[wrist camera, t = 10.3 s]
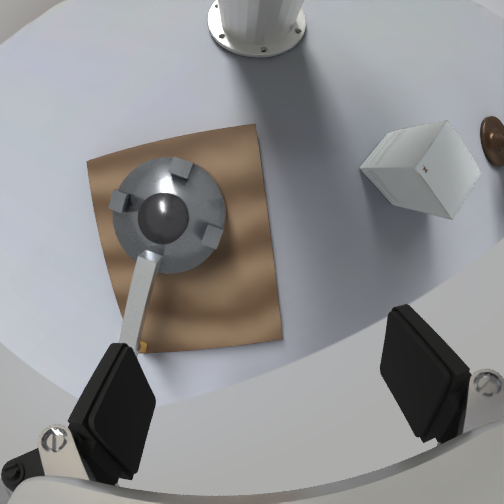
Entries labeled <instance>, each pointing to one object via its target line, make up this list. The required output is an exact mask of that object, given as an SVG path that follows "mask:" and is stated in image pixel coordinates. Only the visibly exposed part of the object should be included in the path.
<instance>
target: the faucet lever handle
mask: <svg viewBox="0 0 504 504" xmlns="http://www.w3.org/2000/svg"><path fill="white" fill-rule="evenodd" d="M108 208H109V209H111V210H113V212H112V214H113V226H114V230H115V234H116V236H117V239H118V241H119V243H120V245H121V246H122V248H123V249H124V251H125V252H126V253H127V255H128V256H129V257H130V258H131V259H132V260H134V261H135V262H136V265H135V269H134V273H133V278H132V282H131V286H130V290H129V295H128V299H127V304H126V309H125V314H124V319H123V324H122V329H121V335H120V340H119V343H126V344H128V346H129V347H132V348H133V350H134V353H135V355H136V357H137V356H138V354H139V352H140V350H141V344H140V340H141V335H142V331H143V327H144V323H145V319H146V315H147V311H148V307H149V303H150V299H151V296H152V292H153V288H154V285H155V281H156V277H157V274H158V273H164V274H175V273H181V272H185V271H188V270H191V269H193V268H195V267H196V266H198V265H200V264H201V263H202V262H204V261H205V260H206V259H207V258H208V257H209V256H210V255H211V253H212V252H213V251H214V249H217V247H218V244H219V241H220V239H221V236H222V233H223V231H224V225H225V221H226V202H225V198H224V194H223V192H222V189H221V187H220V185H219V183H218V182H217V181H216V179H215V178H214V177H213V176H212V175H211V174H210V173H209V172H208V171H207V170H206V169H204V168H203V167H201V166H199V165H198V164H195V163H193V162H190V161H187V160H183V159H181V158H178V157H173V158H172V157H162V158H156V159H153V160H149V161H147V162H145V163H143V164H141V165H139V166H138V167H136V168H135V169H134V170H132V171H131V172H130V173H129V174H128V175H127V176H126V178H125V179H124V180H123V182H122V183H121V185H120V187H119V189H115V190H113V193H112V196H111V200H110V204H109V207H108Z"/></svg>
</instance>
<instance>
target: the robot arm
mask: <svg viewBox="0 0 504 504" xmlns="http://www.w3.org/2000/svg"><path fill="white" fill-rule="evenodd" d="M303 2H304V0H216V1H215V2H214V3H213V5H212V6H211V8H210V10H209V13H208V28H209V31H210V33H211V35H212V37H213V38H214V39H215V41H216V42H217V43H218V44H219V45H221V46H222V47H223V48H225V49H227V50H228V51H230V52H233V53H235V54H238V55H242V56H246V57H255V58H261V57H271V56H276V55H279V54H282V53H285V52H286V51H288V50H290V49H292V48H293V47H294V46H295V45H296V44H298V42H299V41H300V40H301V38H302V36H303V34H304V32H305V28H306V17H305V14H304V12H303V10H302V8H301V7H302V4H303ZM297 33H298V34H297ZM221 38H224V39H221ZM262 51H265V52H262ZM469 370H470V369H469V367H468V366H467V365H466V364H465V363H464V362H463V361H462V360H461V359H460V357H459V356H458V355H457V354H456V353H455V352H454V351H453V350H452V349H451V348H450V347H449V346H448V345H447V344H446V342H445V341H444V340H443V339H442V338H441V337H440V336H439V335H438V334H437V333H436V332H435V331H434V330H433V329H432V328H431V327H430V326H429V325H428V324H427V323H426V322H425V321H424V320H423V319H422V318H421V317H420V316H419V315H418V314H417V313H416V312H415V311H414V310H413V309H412V308H411V307H410V306H409V305H408V304H405V305H401V306H397V307H394V308H393V309H392V311H391V312H390V313H389V314H388V319H387V327H386V334H385V340H384V347H383V353H382V358H381V364H380V372H381V375H382V377H383V379H384V380H385V382H386V384H387V386H388V387H389V389H390V391H391V393H392V394H393V396H394V398H395V400H396V402H397V403H398V405H399V407H400V408H401V410H402V412H403V414H404V416H405V418H406V420H407V421H408V423H409V425H410V427H411V429H412V431H413V433H414V434H415V436H416V437H420V438H421V440H422V442H423V443H424V442H427V441H429V440H431V439H433V438H436V440H437V442H438V444H437V447H435V448H432V449H430V450H428V451H426V452H423V453H421V454H419V455H417V456H414V457H411V458H409V459H406V460H404V461H401V462H399V463H396V464H393V465H391V466H388V467H385V468H383V469H380V470H376V471H373V472H370V473H367V474H364V475H360V476H357V477H353V478H349V479H346V480H342V481H338V482H333V483H329V484H324V485H320V486H315V487H310V488H304V489H299V490H292V491H284V492H276V493H267V494H257V495H256V494H255V495H239V496H194V495H177V494H166V493H157V492H150V491H143V490H135V489H129V488H123V487H120V486H119V485H118V479H119V478H123V479H128V480H132V479H133V475H134V474H135V473H137V472H138V468H139V464H140V461H141V457H142V453H143V449H144V445H145V441H146V438H147V434H148V430H149V426H150V422H151V419H152V416H153V412H154V409H155V405H156V399H155V396H154V394H153V392H152V390H151V388H150V386H149V384H148V381H147V379H146V377H145V375H144V373H143V371H142V368H141V366H140V364H139V362H138V359H137V357H136V355H135V353H134V350H133V348H132V347H129V346H128V344H126V343H112V344H111V345H110V346H109V348H108V349H107V351H106V353H105V354H104V356H103V358H102V359H101V361H100V363H99V365H98V366H97V368H96V370H95V371H94V373H93V375H92V377H91V378H90V380H89V382H88V384H87V386H86V387H85V389H84V391H83V393H82V395H81V396H80V398H79V400H78V402H77V404H76V406H75V408H74V409H73V411H72V413H71V415H70V417H69V419H68V422H69V423H70V424H69V426H68V428H67V427H66V426H64V425H61V424H54V425H51V426H49V427H47V428H46V429H44V430H43V431H42V433H41V434H40V436H39V439H38V448H37V449H35V450H33V451H30V452H28V453H26V454H24V455H21V456H19V457H17V458H14V459H12V460H10V461H8V462H7V463H6V464H5V465H4V467H3V469H2V473H1V476H2V479H0V504H504V379H503V377H502V376H501V375H500V374H499V373H498V372H496V371H494V370H491V369H481V370H478V371H476V372H474V373H473V375H471V373H470V372H469Z"/></svg>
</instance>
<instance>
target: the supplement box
mask: <svg viewBox="0 0 504 504" xmlns="http://www.w3.org/2000/svg"><path fill="white" fill-rule="evenodd" d="M359 169H360V170H361V171H362V172H363V173H364V174H365V175H366V176H367V177H368V178H369V179H370V180H371V182H372V183H373V184H374V185H375V186H376V187H377V188H378V189H379V190H380V191H381V193H382V194H383V195H384V196H385V197H386V198H387V199H388V201H389V202H390V203H391V204H392V205H393V206H398V207H402V208H407V209H411V210H415V211H419V212H423V213H427V214H431V215H435V216H439V217H443V218H447V219H451V220H453V219H454V217H455V216H456V214H457V212H458V211H459V209H460V208H461V206H462V204H463V203H464V201H465V200H466V198H467V196H468V195H469V193H470V191H471V190H472V188H473V186H474V184H475V183H476V181H477V179H478V177H479V176H480V174H481V171H480V170H479V168H478V166H477V164H476V163H475V161H474V159H473V158H472V156H471V154H470V153H469V151H468V149H467V148H466V146H465V145H464V143H463V142H462V140H461V139H460V137H459V136H458V134H457V133H456V131H455V130H454V128H453V127H452V125H451V124H450V122H449V121H448V120H444V121H438V122H433V123H428V124H423V125H419V126H414V127H410V128H406V129H401V130H397V131H392V132H388V133H387V134H386V136H385V137H384V138H383V139H382V140H381V142H380V143H379V144H378V145H377V147H376V148H375V149H374V150H373V152H372V153H371V154H370V155H369V157H368V158H367V159H366V160H365V162H364V163H363V164H362V165H361V166H360V168H359Z"/></svg>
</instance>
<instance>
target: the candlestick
mask: <svg viewBox="0 0 504 504" xmlns="http://www.w3.org/2000/svg"><path fill="white" fill-rule="evenodd" d="M480 138H481V144H482V148H483V151H484V153H485V155H486V157H487V159H488V161H489V162H490V163H491V164H492V165H494V166H504V126H503V124H502V123H501V121H500V120H499V119H498V118H496V117H493V116H490V117H486V118H484V120H483V121H482V124H481V128H480Z"/></svg>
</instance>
